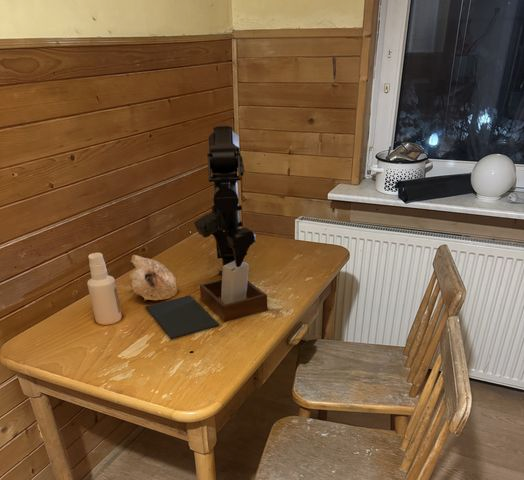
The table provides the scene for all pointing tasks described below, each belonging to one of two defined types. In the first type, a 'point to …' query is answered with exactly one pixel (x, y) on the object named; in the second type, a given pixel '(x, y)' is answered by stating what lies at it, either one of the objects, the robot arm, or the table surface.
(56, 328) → the table surface
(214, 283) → the crate
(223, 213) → the robot arm
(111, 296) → the spray bottle
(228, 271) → the cosmetic box
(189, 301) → the mat
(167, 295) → the beige seashell
